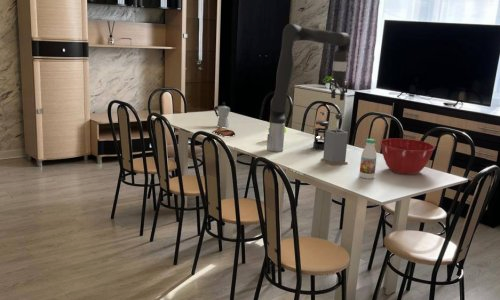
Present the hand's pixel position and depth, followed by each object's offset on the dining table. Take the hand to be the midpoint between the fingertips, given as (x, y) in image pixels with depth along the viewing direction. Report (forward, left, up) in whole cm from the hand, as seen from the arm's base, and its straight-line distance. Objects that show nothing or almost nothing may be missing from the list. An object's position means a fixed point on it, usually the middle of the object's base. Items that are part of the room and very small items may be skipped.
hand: (337, 99), depth 286 cm
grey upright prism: (0, -2, -36) cm, 36 cm away
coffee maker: (-29, +105, -36) cm, 114 cm away
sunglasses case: (-37, +81, -36) cm, 96 cm away
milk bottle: (+1, -32, -36) cm, 48 cm away
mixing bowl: (+29, -27, -36) cm, 54 cm away
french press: (+11, +31, -36) cm, 48 cm away
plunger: (0, -2, -22) cm, 22 cm away
